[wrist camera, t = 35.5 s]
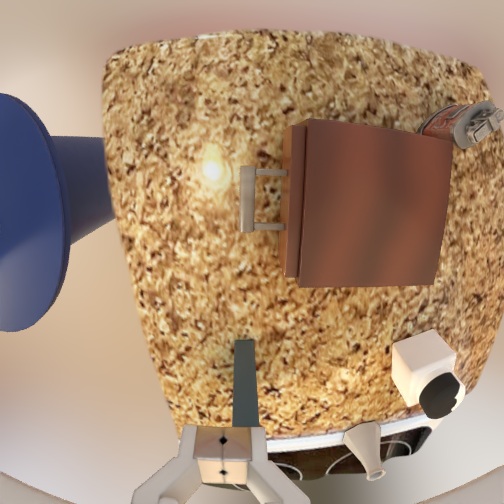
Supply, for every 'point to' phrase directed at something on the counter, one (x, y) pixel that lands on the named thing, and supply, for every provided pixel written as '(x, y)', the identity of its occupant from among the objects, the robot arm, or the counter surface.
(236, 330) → the counter surface
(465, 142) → the lighter
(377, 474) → the flask
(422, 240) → the cabinet
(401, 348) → the medicine bottle
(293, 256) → the drawer
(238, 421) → the dark teal rectangular block
